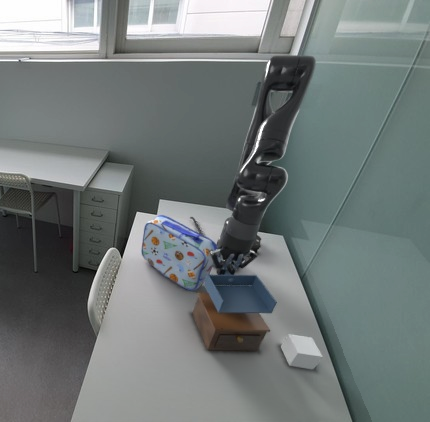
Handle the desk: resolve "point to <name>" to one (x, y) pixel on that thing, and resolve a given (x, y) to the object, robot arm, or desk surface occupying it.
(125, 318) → the desk surface
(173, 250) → the lunch box
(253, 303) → the dustpan
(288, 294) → the desk surface
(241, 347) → the storage box
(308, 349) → the white cube
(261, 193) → the robot arm
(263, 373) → the desk surface
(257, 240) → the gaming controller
